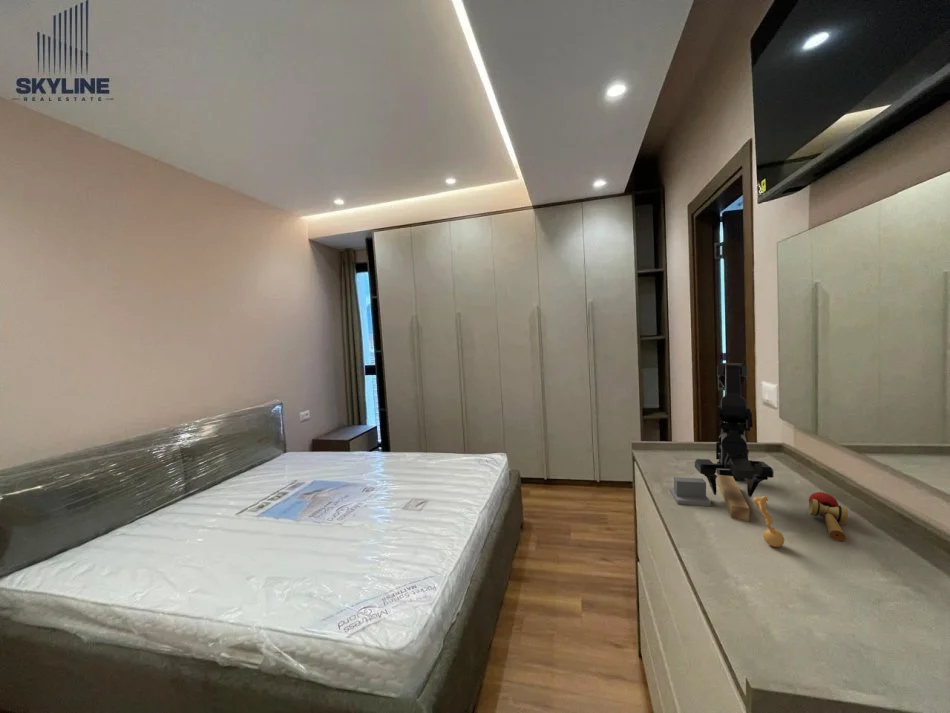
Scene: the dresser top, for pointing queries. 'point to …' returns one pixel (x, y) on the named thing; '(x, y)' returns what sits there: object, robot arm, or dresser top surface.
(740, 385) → the robot arm
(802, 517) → the dresser top surface
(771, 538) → the figurine
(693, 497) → the grey stepped block
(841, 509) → the kendama
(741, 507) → the plank
